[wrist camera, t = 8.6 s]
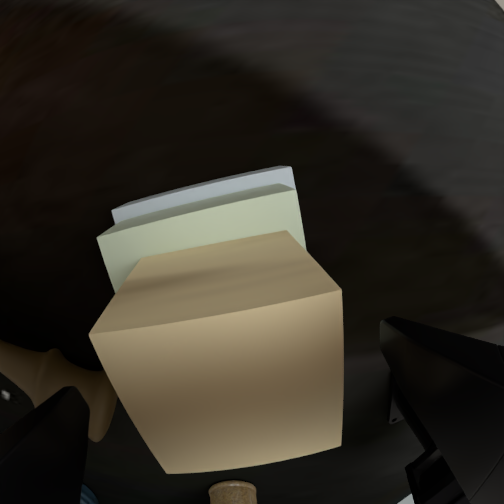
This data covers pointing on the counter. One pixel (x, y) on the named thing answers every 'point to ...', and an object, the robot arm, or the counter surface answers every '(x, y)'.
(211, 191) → the base block
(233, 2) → the counter surface
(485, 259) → the counter surface
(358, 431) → the counter surface
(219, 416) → the maple cube
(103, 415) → the kendama
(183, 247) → the sage block
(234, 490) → the sprinkles bottle
